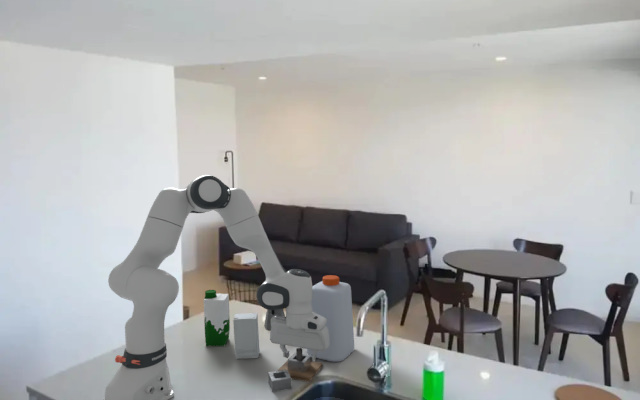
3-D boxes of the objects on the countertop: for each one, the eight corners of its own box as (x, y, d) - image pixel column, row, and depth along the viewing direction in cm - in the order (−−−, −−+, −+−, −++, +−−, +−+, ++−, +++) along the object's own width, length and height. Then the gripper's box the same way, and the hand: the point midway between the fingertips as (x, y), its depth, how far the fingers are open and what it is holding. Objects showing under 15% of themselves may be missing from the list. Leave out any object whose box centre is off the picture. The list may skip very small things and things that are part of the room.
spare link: (291, 388, 150) (291, 378, 150) (272, 391, 148) (272, 381, 148) (286, 379, 156) (286, 369, 155) (268, 382, 154) (268, 372, 153)
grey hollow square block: (304, 373, 158) (304, 362, 158) (287, 369, 160) (287, 359, 160) (311, 365, 164) (311, 355, 163) (295, 362, 166) (295, 352, 165)
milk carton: (208, 337, 189) (207, 287, 187) (231, 337, 189) (230, 287, 186) (202, 347, 180) (201, 294, 178) (227, 347, 180) (225, 295, 178)
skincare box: (259, 351, 177) (259, 312, 175) (258, 359, 171) (257, 318, 169) (236, 352, 176) (235, 312, 174) (234, 359, 170) (233, 318, 168)
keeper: (309, 381, 154) (309, 359, 153) (275, 375, 159) (275, 353, 158) (322, 365, 165) (322, 344, 165) (290, 360, 170) (290, 339, 169)
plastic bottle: (321, 340, 186) (321, 269, 183) (358, 348, 179) (358, 274, 176) (302, 356, 173) (301, 279, 169) (340, 365, 166) (341, 285, 163)
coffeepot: (266, 320, 207) (266, 279, 205) (288, 321, 207) (288, 279, 204) (260, 335, 192) (260, 290, 190) (284, 335, 191) (284, 291, 189)
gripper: (266, 317, 161) (266, 357, 162) (324, 326, 153) (324, 367, 155) (274, 311, 166) (275, 350, 168) (331, 319, 159) (331, 359, 161)
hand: (299, 358), depth 162 cm, fingers open, 8 cm apart
